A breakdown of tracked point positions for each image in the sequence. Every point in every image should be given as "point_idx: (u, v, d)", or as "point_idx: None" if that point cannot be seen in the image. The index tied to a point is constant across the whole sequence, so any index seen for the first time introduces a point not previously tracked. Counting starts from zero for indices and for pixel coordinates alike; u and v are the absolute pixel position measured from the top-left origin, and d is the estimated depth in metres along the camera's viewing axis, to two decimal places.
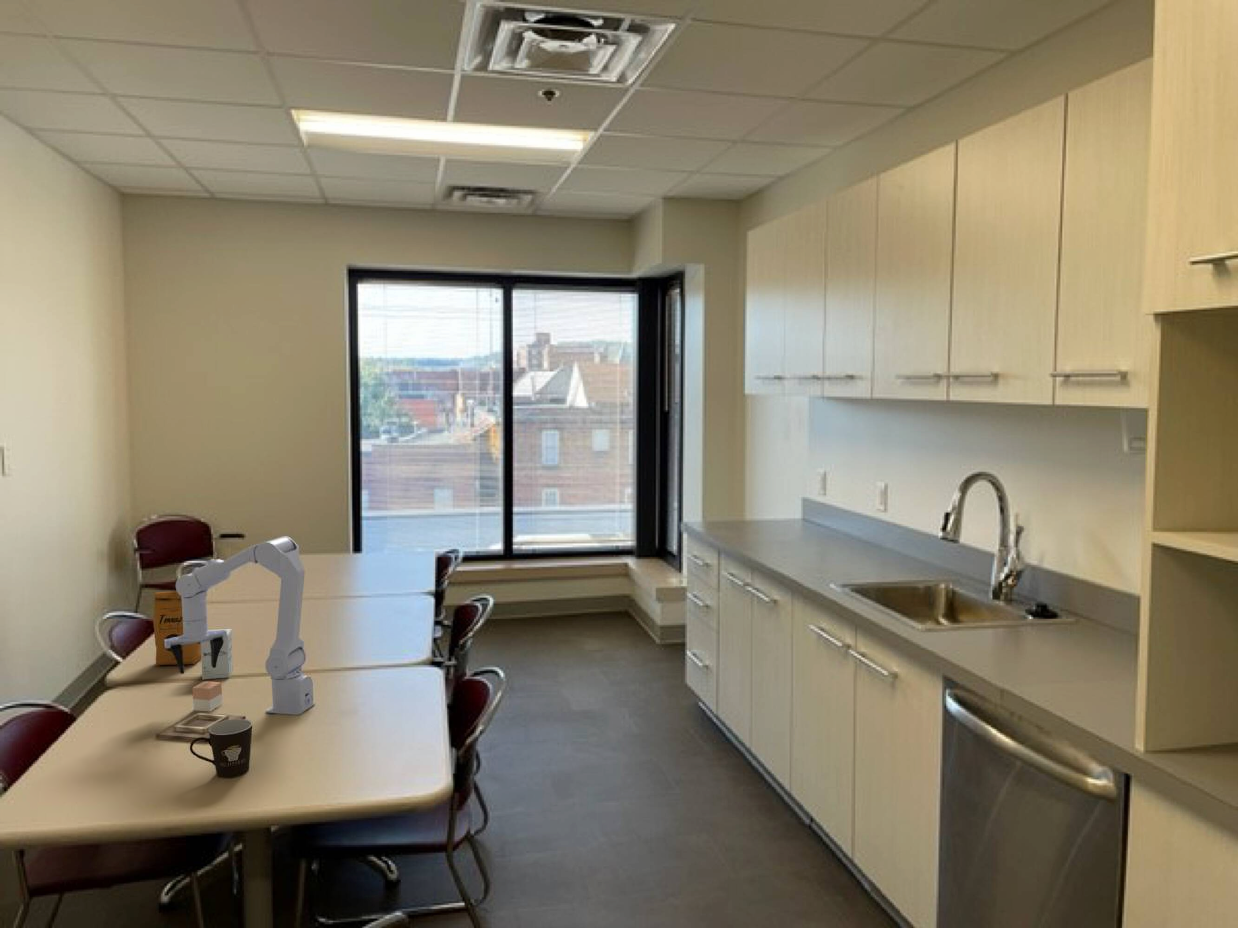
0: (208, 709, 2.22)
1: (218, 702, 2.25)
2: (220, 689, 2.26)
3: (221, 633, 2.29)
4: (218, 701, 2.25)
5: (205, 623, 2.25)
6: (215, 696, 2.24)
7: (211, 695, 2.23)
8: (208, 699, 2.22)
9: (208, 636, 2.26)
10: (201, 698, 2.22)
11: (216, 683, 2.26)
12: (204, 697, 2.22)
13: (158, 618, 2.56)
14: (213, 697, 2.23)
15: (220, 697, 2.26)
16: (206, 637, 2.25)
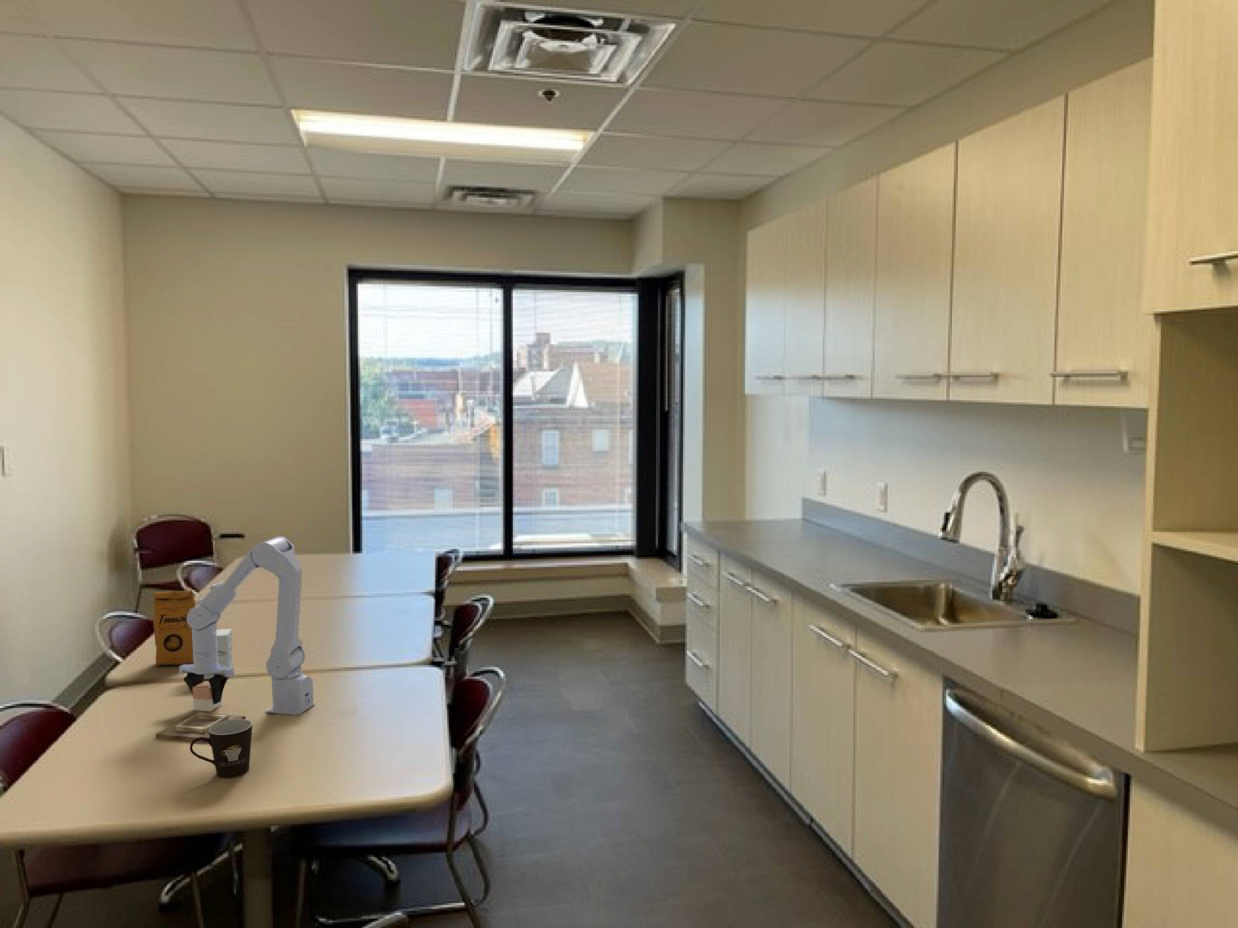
0: (208, 709, 2.22)
1: None
2: None
3: (223, 671, 2.22)
4: None
5: (207, 657, 2.22)
6: None
7: (211, 695, 2.23)
8: (208, 699, 2.22)
9: (209, 671, 2.21)
10: (201, 698, 2.22)
11: None
12: (204, 697, 2.22)
13: (158, 618, 2.56)
14: None
15: None
16: (206, 672, 2.21)
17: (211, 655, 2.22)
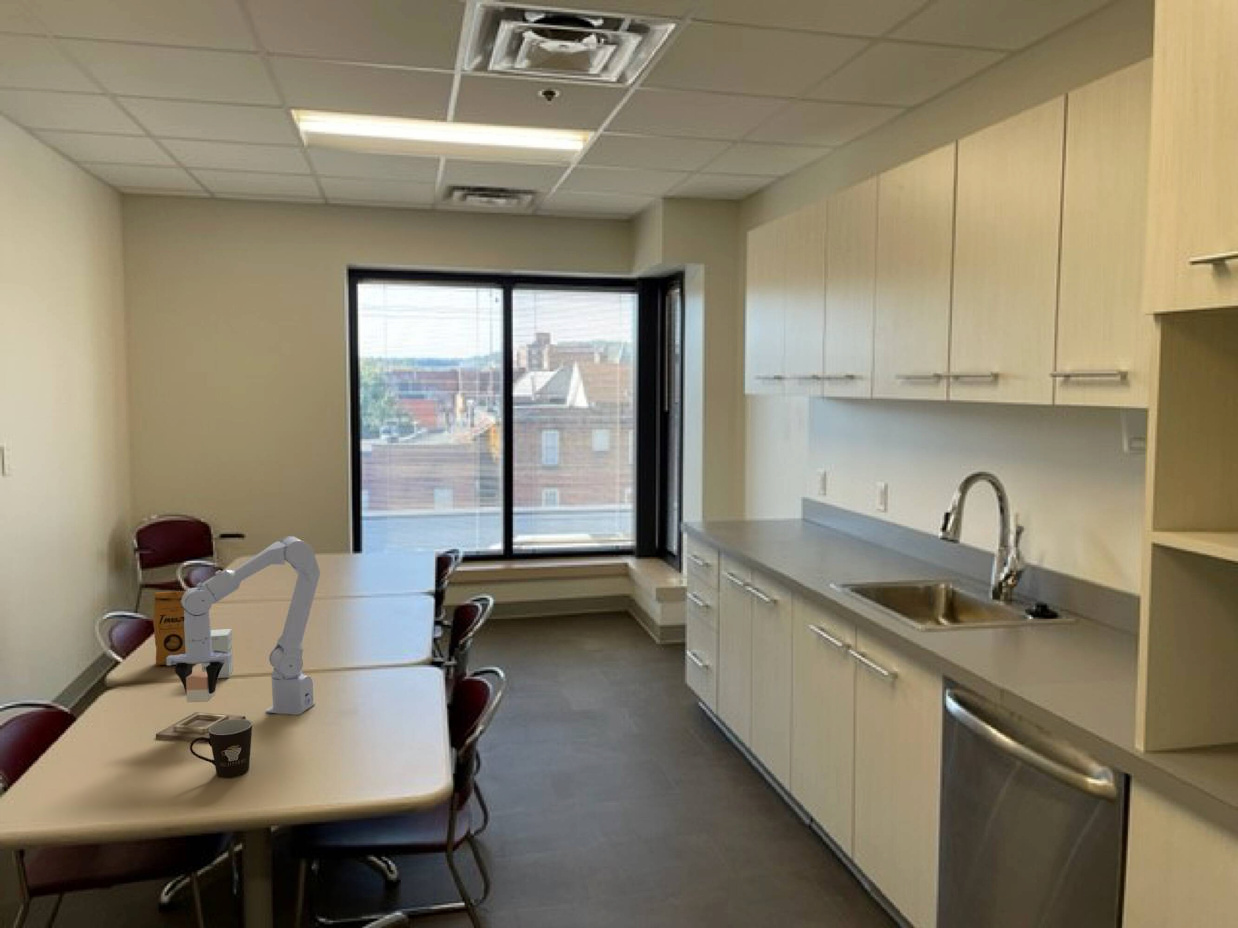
0: (205, 699, 2.10)
1: None
2: None
3: (222, 657, 2.10)
4: None
5: (203, 645, 2.09)
6: None
7: None
8: (205, 688, 2.10)
9: (206, 659, 2.09)
10: (196, 688, 2.09)
11: None
12: (200, 687, 2.10)
13: (158, 618, 2.56)
14: None
15: None
16: (203, 660, 2.09)
17: (207, 642, 2.10)
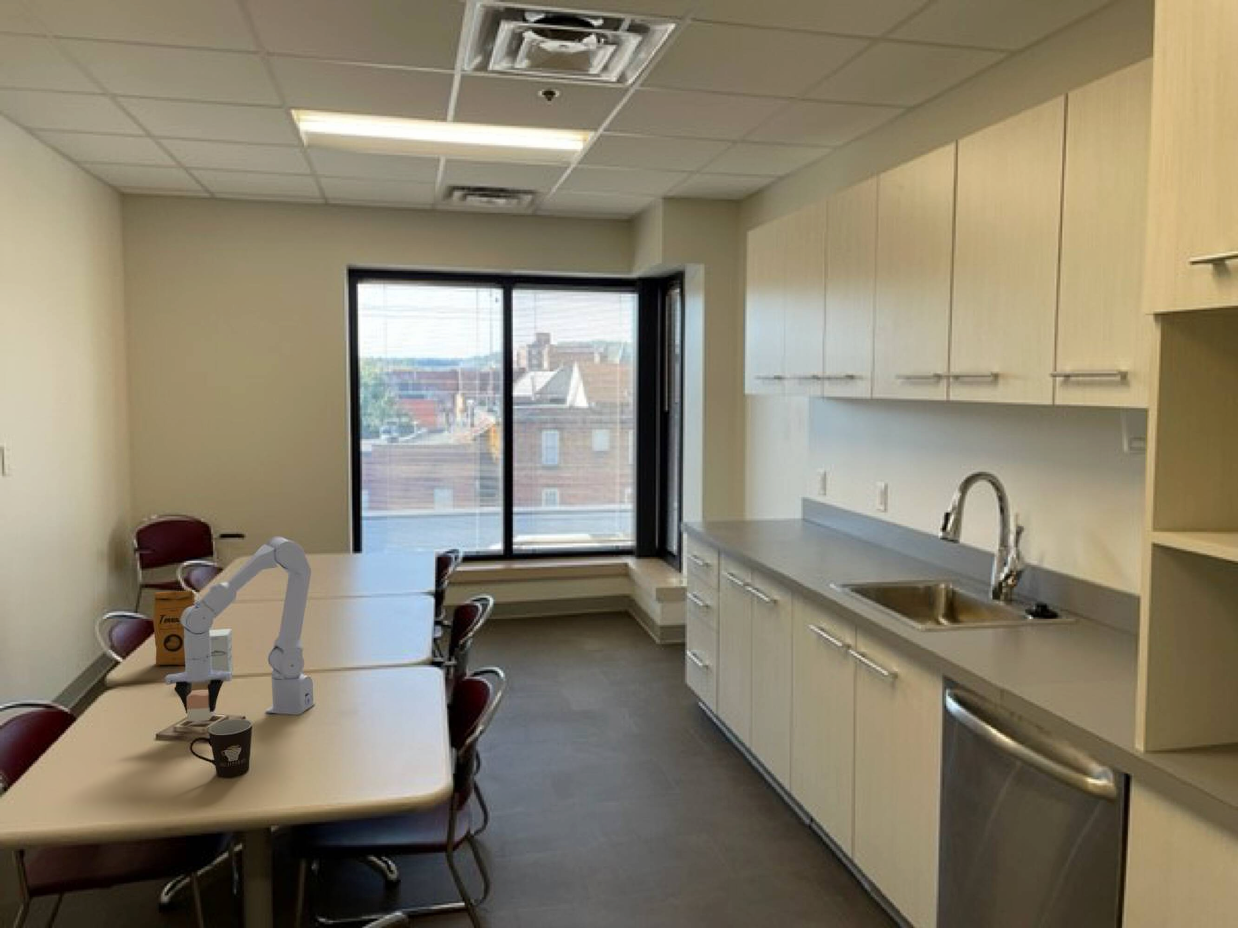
0: (206, 718, 2.09)
1: None
2: None
3: (223, 675, 2.09)
4: None
5: (205, 663, 2.08)
6: None
7: (209, 702, 2.09)
8: (206, 707, 2.08)
9: (207, 677, 2.08)
10: (197, 707, 2.08)
11: None
12: (201, 705, 2.08)
13: (158, 618, 2.56)
14: None
15: None
16: (204, 678, 2.07)
17: (208, 660, 2.09)
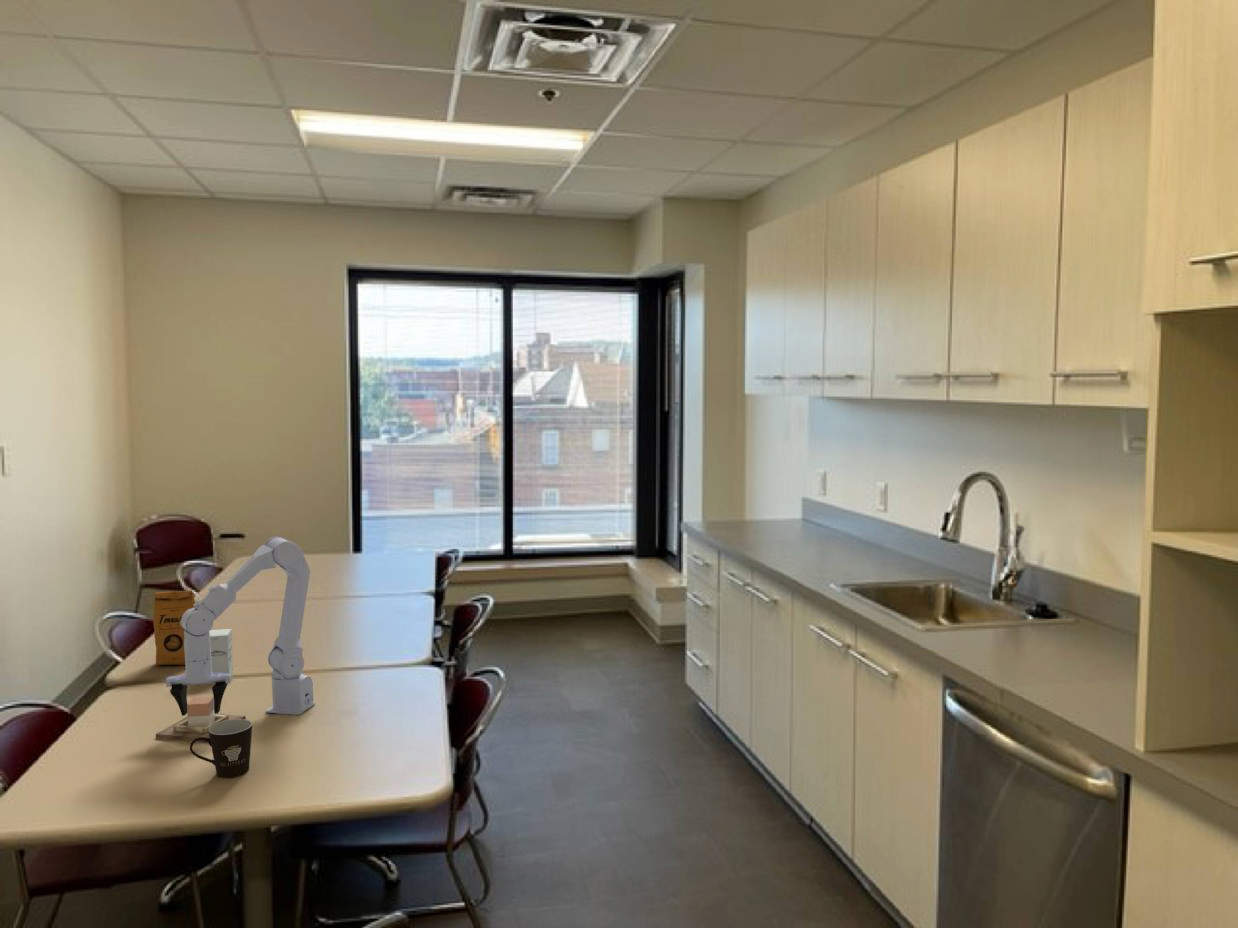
0: (207, 725, 2.09)
1: (213, 717, 2.12)
2: (213, 703, 2.13)
3: (223, 677, 2.10)
4: (213, 716, 2.12)
5: (205, 665, 2.08)
6: (211, 711, 2.11)
7: (209, 710, 2.09)
8: (207, 715, 2.09)
9: (207, 679, 2.08)
10: (198, 715, 2.08)
11: (209, 697, 2.12)
12: (202, 713, 2.08)
13: (158, 618, 2.56)
14: (210, 712, 2.10)
15: (214, 712, 2.13)
16: (204, 680, 2.08)
17: (208, 662, 2.09)
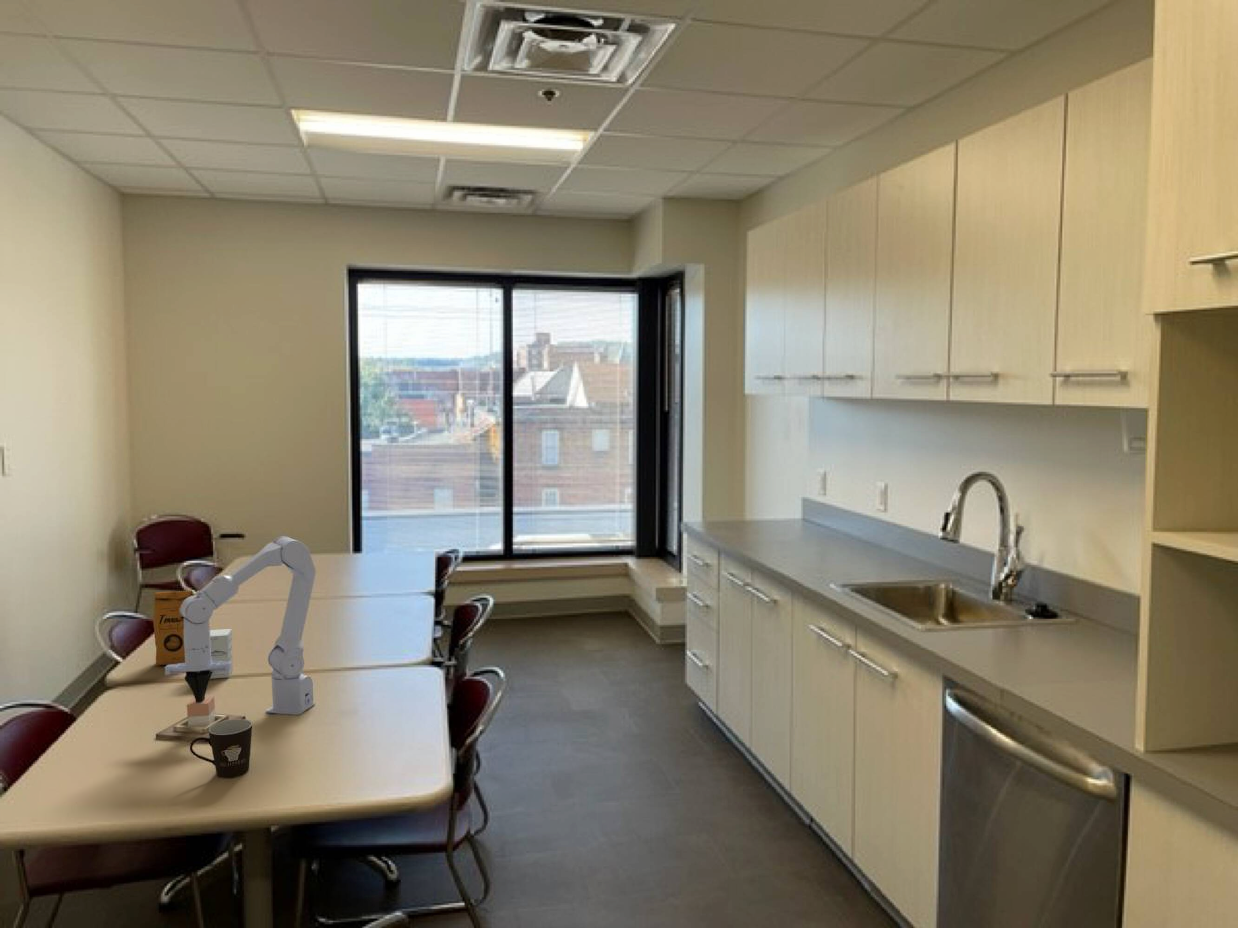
0: (207, 725, 2.09)
1: (213, 717, 2.12)
2: (213, 703, 2.13)
3: (223, 665, 2.09)
4: (213, 716, 2.12)
5: (204, 653, 2.08)
6: (211, 711, 2.11)
7: (209, 710, 2.09)
8: (207, 715, 2.09)
9: (206, 667, 2.08)
10: (198, 715, 2.08)
11: (209, 697, 2.12)
12: (202, 713, 2.08)
13: (158, 618, 2.56)
14: (210, 712, 2.10)
15: (214, 712, 2.13)
16: (204, 668, 2.07)
17: (207, 650, 2.08)
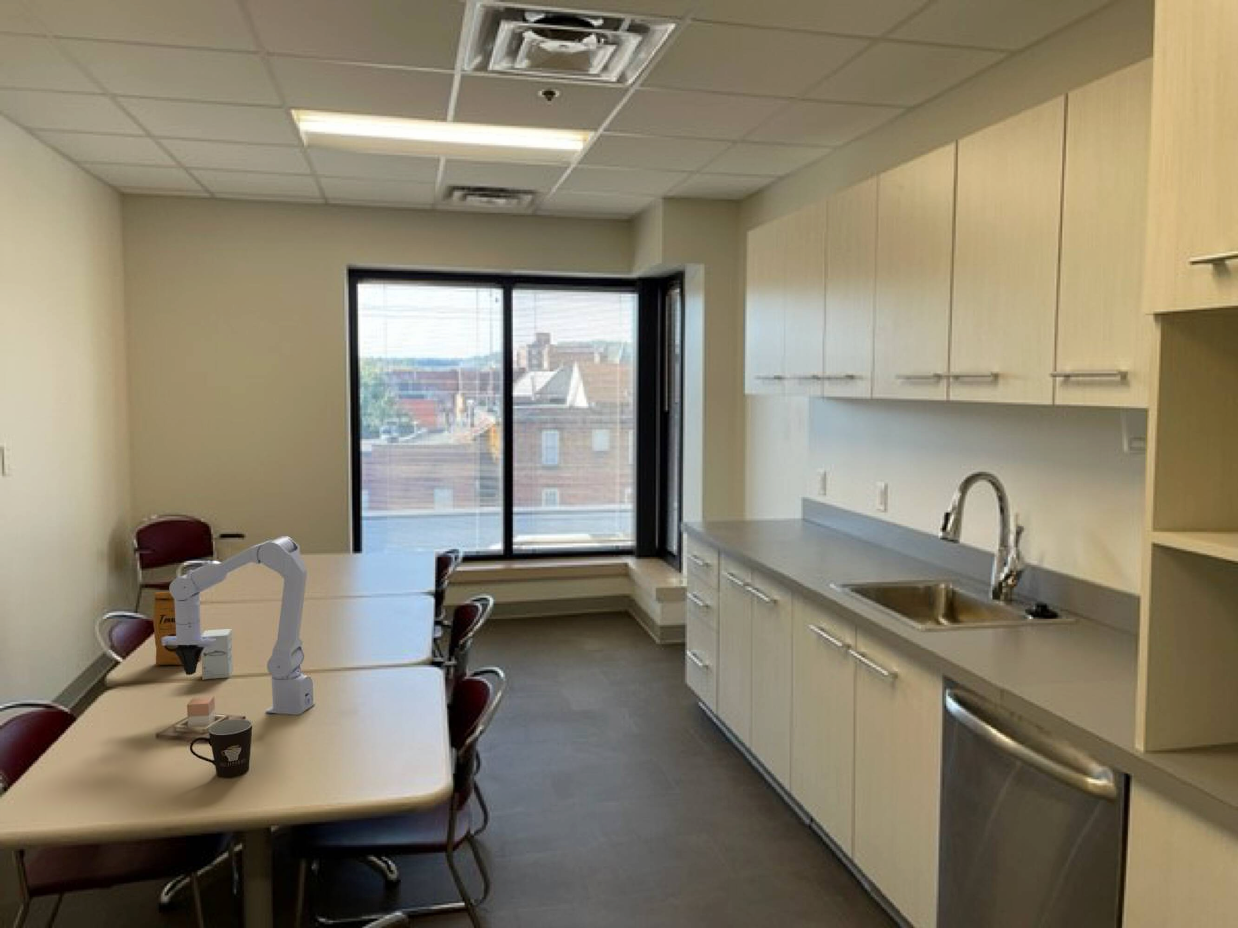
0: (207, 725, 2.09)
1: (213, 717, 2.12)
2: (213, 703, 2.13)
3: (206, 642, 2.20)
4: (213, 716, 2.12)
5: (190, 628, 2.20)
6: (211, 711, 2.11)
7: (209, 710, 2.09)
8: (207, 715, 2.09)
9: (191, 642, 2.19)
10: (198, 715, 2.08)
11: (209, 697, 2.12)
12: (202, 713, 2.08)
13: (158, 618, 2.56)
14: (210, 712, 2.10)
15: (214, 712, 2.13)
16: (189, 643, 2.19)
17: (194, 626, 2.20)
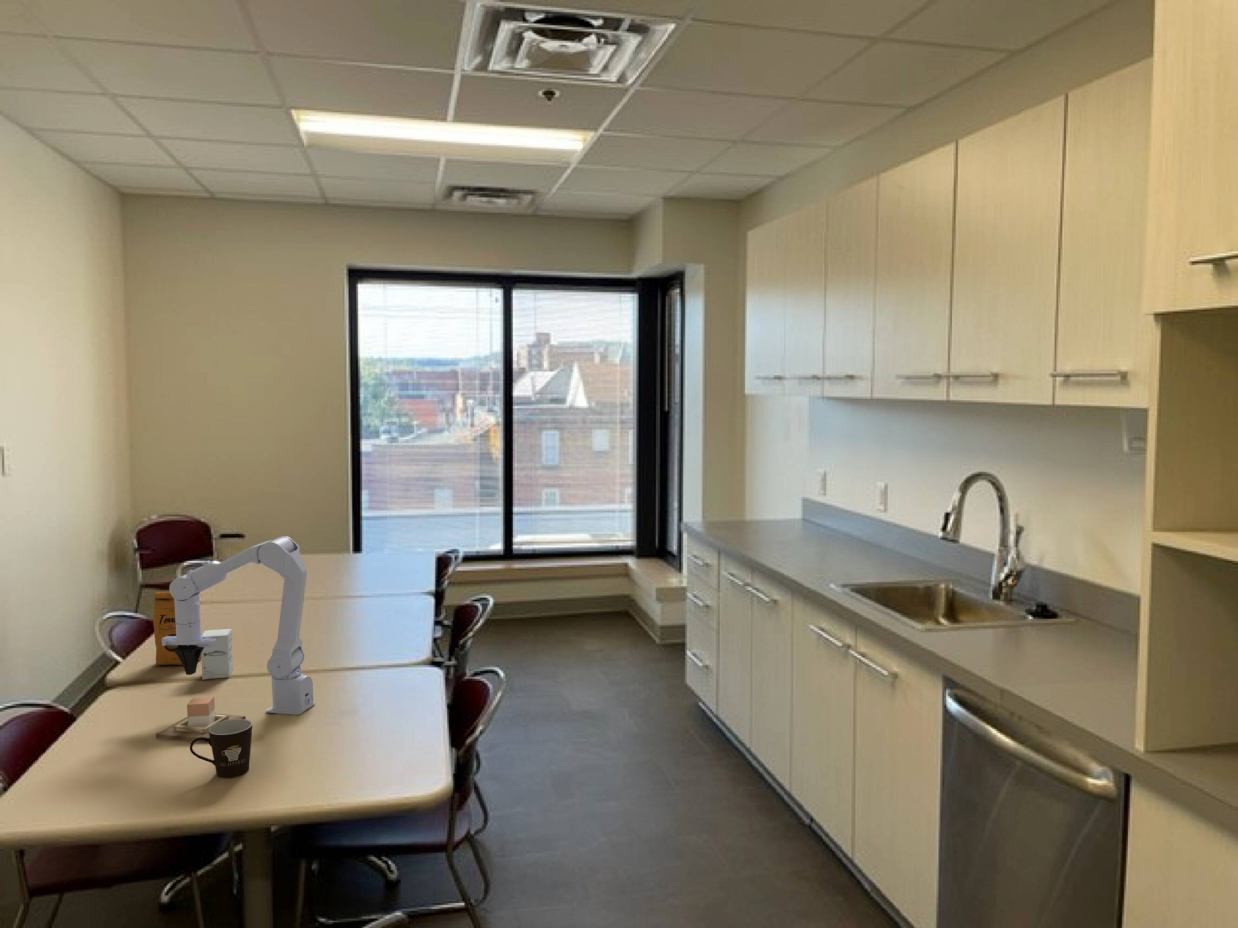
0: (207, 725, 2.09)
1: (213, 717, 2.12)
2: (213, 703, 2.13)
3: (206, 642, 2.20)
4: (213, 716, 2.12)
5: (190, 628, 2.20)
6: (211, 711, 2.11)
7: (209, 710, 2.09)
8: (207, 715, 2.09)
9: (191, 642, 2.19)
10: (198, 715, 2.08)
11: (209, 697, 2.12)
12: (202, 713, 2.08)
13: (158, 618, 2.56)
14: (210, 712, 2.10)
15: (214, 712, 2.13)
16: (189, 643, 2.19)
17: (194, 626, 2.20)
